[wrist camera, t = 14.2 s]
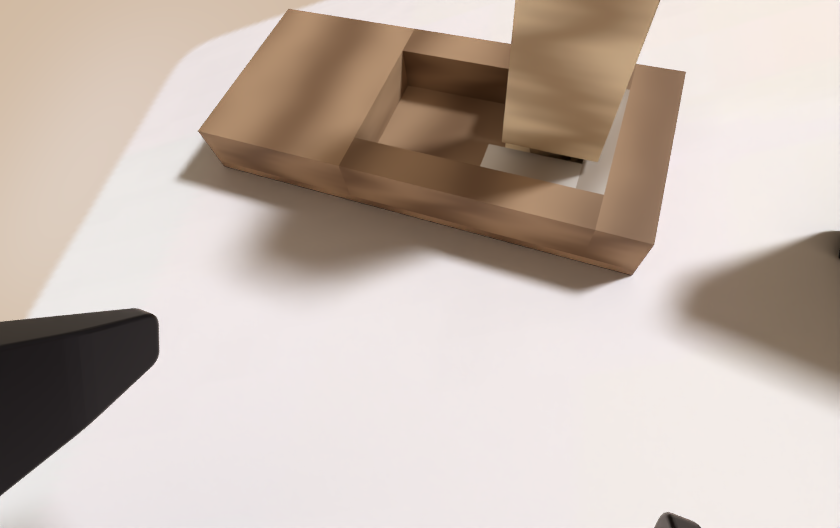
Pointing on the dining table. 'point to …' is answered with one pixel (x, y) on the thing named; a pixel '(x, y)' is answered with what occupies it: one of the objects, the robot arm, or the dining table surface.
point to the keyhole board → (442, 137)
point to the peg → (570, 73)
